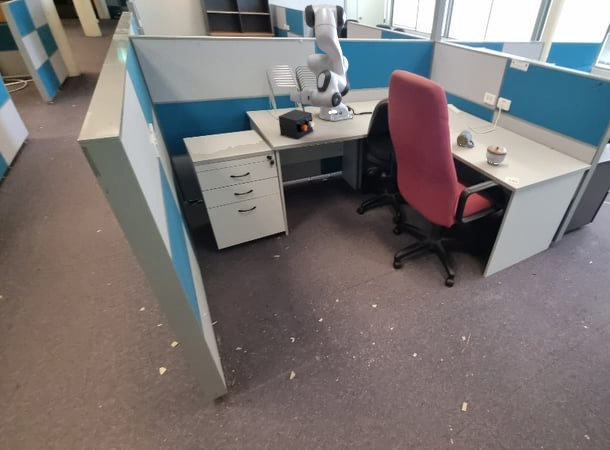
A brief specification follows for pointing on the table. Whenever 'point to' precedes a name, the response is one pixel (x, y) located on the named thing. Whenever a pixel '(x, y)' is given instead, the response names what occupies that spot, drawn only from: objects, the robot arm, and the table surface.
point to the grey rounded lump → (465, 139)
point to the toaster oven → (295, 123)
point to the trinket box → (495, 154)
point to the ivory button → (311, 124)
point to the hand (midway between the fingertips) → (298, 96)
